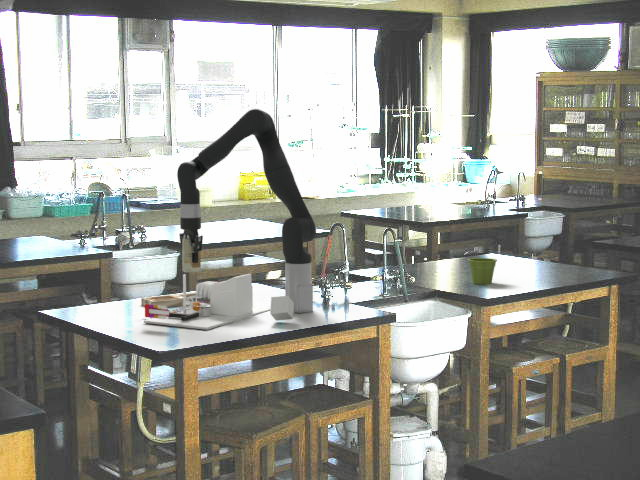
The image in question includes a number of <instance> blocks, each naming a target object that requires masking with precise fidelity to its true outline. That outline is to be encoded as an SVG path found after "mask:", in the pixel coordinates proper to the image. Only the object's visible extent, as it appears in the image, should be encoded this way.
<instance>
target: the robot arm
mask: <svg viewBox="0 0 640 480" xmlns="http://www.w3.org/2000/svg"><path fill="white" fill-rule="evenodd" d="M252 135H253V137H254V138H255V139H256V140H257V143H258V145H259V148H260V150H261V154H262V162H263V163H262V165H263V172H264V176H265V178H266V180H267V183H268V185H269V187H270V190H271V191H272V193H273V194H274V195H275V196H276V197H277V198H278V199H279V200H280V201H281V202H282V203H283V204H284V206H285V207H286V208H287V210H288V211H289V213H290V215H291V216H290V217H289V218H287V219H285V220H284V222H283V224H282V228H281V229H282V230H281V239H282V254H283V256H284V264H285V265H284V268H285V269H284V271H285V272H284V273H285V274H284V275H285V276H284V277H285V278H284V282H285V283H284V284H285V285H284V287H285V288H284V290H285V291H284V292H285V293H284V294H285V295H284V296H289V297H290V299H291V300H292V301H293V302H294V310H293V314H296V313H297V314H302V313H303V314H304V313H311V312H312V313H313V311H314V301H313V299H314V292H313V291H314V286H313V284H312V254H310V253H309V252H307V251H305V248H304V244H305V243H309V242H311V241H313V240H314V239H315V237H316V235H317V234H316V233H317V229H316V223H315V221H314V219H313V217H312V214H311V213H310V211H309V209H308V207H307V205H306V203H305V202H304V199H303V197H302V195H301V192H300V190H299V187H298V184H297V182H296V180H295V176H294V174H293V172H292V169H291V166H290V164H289V162H288V159H287V157H286V154H285V151H284V150H283V147H282V146H281V143H280V140H279V138H278V133H277V129H276V125H275V122H274V119H273V117H272V116H271V115H270V114H269V113H267V112H266V111H264V110H261V109H259V108H252V109H250V110H248V111H246V113H245V114H243V115H242V116H241V117H240V118H239V120H238V121H236V122H235V123H234V124H233V125H232V126H231V127H230V128H228V130H227V131H226V132H224V133H223V134H222V135H221V136H220V137H219V138H217V139H216V140H215V141H213V142H211V144H209V145H208V146H207V147H205V148H204V149H202V150H201V151H200V152H199V153H198V155H197V156H196V157H195V158H193V159H192V160H190V161H184V162H182V163H181V164H180V165H179V166H178V168H177V175H176V176H177V181H178V182H177V183H178V186H179V191H180V207H179V208H180V209H179V212H180V213H179V216H180V219H179V221H180V222H179V223H180V230H182V231H183V233H181V232H180V233H179V243H180V249H181V250H182V239H188V240H189V246H190V247H191V249H192V263H198V252H199V251H201V252H202V250H203V249H202V248H203V240H204V239H203V237H204V236H203V235H200V234H199V231H198V230H200V229H201V228H202V211H201V202H200V201H201V198H200V197H201V195H200V190H199V188H198V187H197V180H199V179H200V178H201V177H202V176H204V175H205V174H206V173H207V172H208V171H209V170H210V169H211V168H213V167H214V166H216V165H217V164H218V163H220V162H221V161H223V160H224V159H226V158H227V157H228V156H229V154H231V152H233V150H234V148H235V147H236V146H237V145H238V144H239V143H240V142H241V141H243V140H244V139H247V138H248V137H250V136H252ZM192 243H195V244H192ZM198 246H199V247H198Z"/></svg>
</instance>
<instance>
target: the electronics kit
mask: <svg viewBox="0 0 640 480" xmlns="http://www.w3.org/2000/svg"><path fill="white" fill-rule="evenodd" d="M252 282H253V281H252V273H247V274H241V275H238V276H234V277H232V278H229V279H227V280H224V281H210V280H208V281H204V282H198V283H196V284H195V293H196V295H194V296H189V297H188V299H187V301H186V293H187V274H185V273H184V274H182V294H183V303H182V305H183V306H179V308H178V309H177V308H176V309H173V310H172V311H171V310H170V309H169V307H166V306H160V305H148V304H145V306H144V317H145V318H149V319H144V320H143V324H144V323H145V324H151V325H161V326H171V327H179V328H189V329H198V330H203V331H204V330H206V331H208V330H211V329H214V328H218V327H221V326H224V325H228V324H233V323H234V322H238V321H241V320H245V319H248V318H250V317H253V316H257V315H259V314H262V313H266V312H269V311H270V310H271V307H270V308H268V307H257V306H254V305H253V304H254V303H253V295H254V294H253V292H254V291H253V284H252ZM189 298H190V299H191V301H192V302H191V301H189ZM193 301H195V302H193ZM187 306H188V307H187ZM189 306H191V307H189Z"/></svg>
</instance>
